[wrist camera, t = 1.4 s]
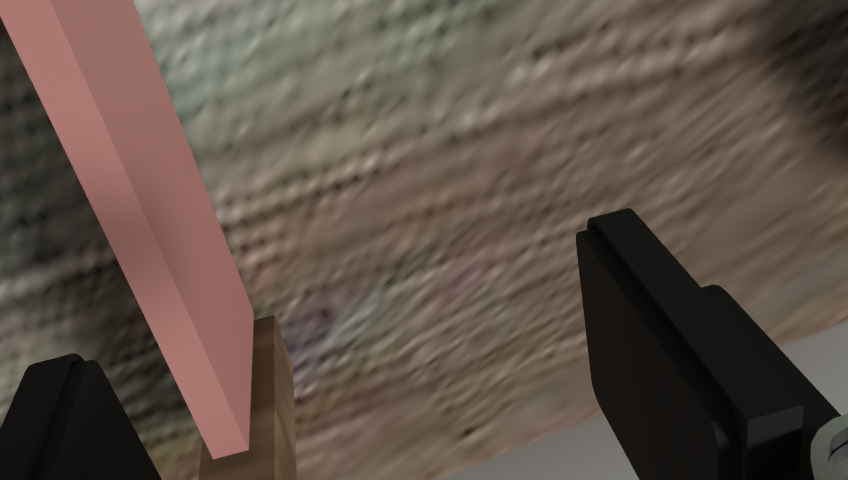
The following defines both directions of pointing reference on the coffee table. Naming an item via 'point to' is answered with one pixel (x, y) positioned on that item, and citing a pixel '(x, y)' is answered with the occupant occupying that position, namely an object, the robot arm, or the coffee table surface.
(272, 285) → the coffee table surface
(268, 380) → the gate posts
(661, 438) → the robot arm
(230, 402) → the gate
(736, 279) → the coffee table surface
